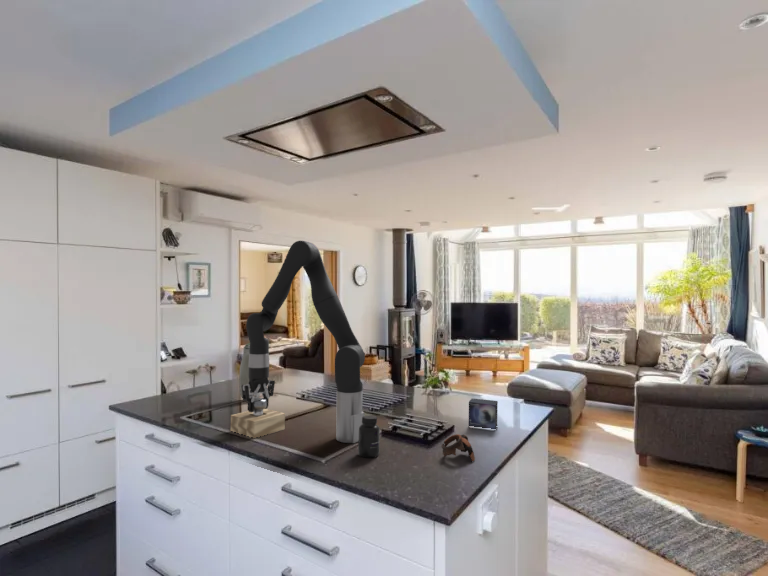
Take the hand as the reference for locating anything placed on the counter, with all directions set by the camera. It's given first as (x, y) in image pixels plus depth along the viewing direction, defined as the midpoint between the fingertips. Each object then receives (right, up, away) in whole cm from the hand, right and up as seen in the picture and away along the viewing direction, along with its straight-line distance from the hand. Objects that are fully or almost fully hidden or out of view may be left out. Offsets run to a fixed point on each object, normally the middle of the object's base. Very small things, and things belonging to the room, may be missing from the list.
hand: (258, 409), depth 163 cm
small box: (+86, -9, +6) cm, 87 cm away
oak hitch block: (0, -8, 0) cm, 8 cm away
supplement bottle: (+43, -8, -25) cm, 50 cm away
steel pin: (0, -5, 0) cm, 5 cm away
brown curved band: (+72, -8, -26) cm, 77 cm away
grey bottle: (-17, -9, +46) cm, 50 cm away
